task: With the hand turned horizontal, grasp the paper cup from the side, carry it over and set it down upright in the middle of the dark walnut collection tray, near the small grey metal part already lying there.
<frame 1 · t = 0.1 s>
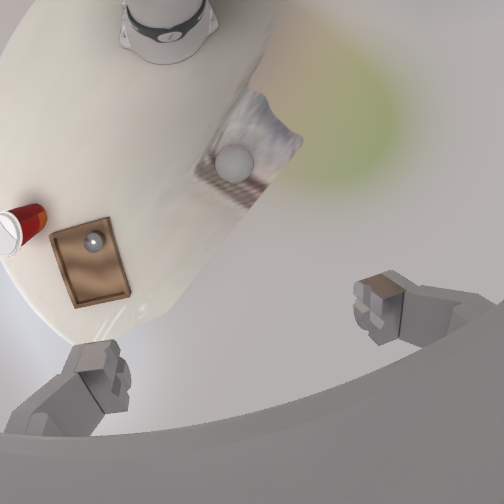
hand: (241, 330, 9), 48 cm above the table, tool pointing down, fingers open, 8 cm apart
lightbulb: (227, 162, 54), on the table
part: (96, 239, 52), point 1 cm above the table, touching tray
paper cup: (36, 217, 48), on the table
tray: (90, 263, 54), on the table
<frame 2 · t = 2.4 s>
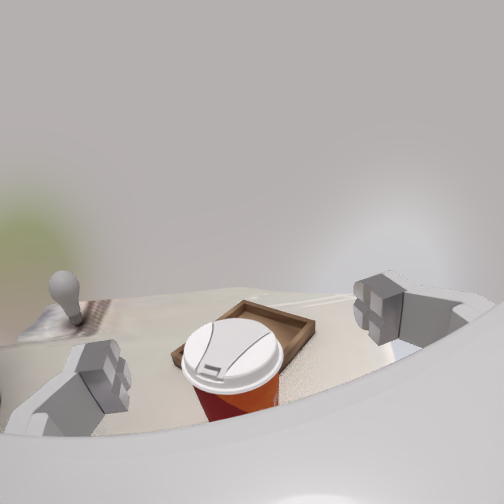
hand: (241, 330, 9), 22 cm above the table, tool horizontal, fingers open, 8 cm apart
lightbulb: (78, 325, 49), on the table
paper cup: (249, 442, 27), on the table
tray: (246, 350, 41), on the table
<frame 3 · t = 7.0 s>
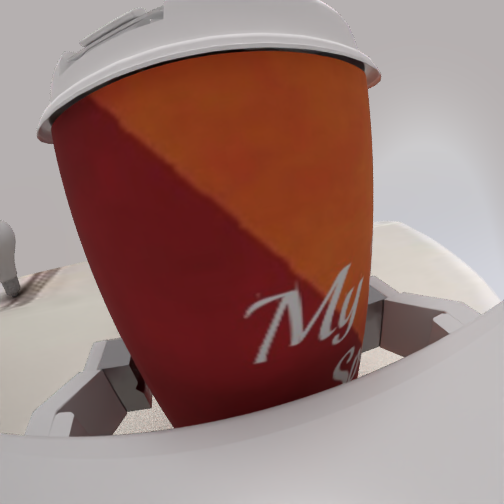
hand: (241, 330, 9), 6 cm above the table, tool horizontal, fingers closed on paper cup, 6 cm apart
lightbulb: (16, 296, 32), on the table
paper cup: (273, 451, 11), on the table, touching gripper
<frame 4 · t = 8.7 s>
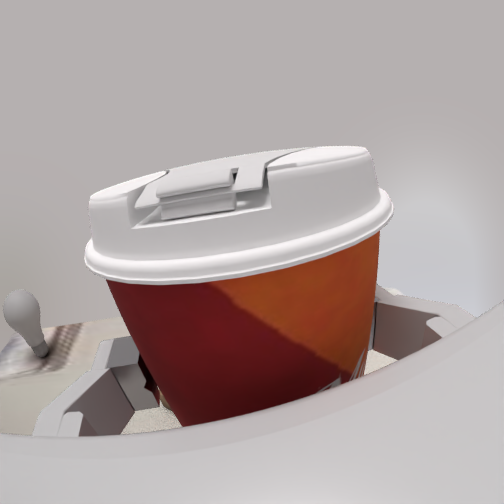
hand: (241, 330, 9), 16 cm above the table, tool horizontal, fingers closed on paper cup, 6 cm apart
lightbulb: (45, 356, 35), on the table
paper cup: (282, 469, 12), point 7 cm above the table, touching gripper
when the fingers open (9 cm above the table, at t = 11.3 s): paper cup stays where it is, resting on tray.
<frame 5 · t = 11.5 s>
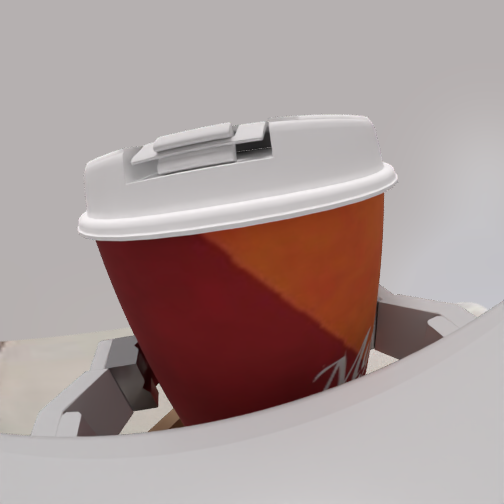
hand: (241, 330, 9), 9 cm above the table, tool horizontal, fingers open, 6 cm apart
paper cup: (282, 464, 12), resting on tray, touching gripper
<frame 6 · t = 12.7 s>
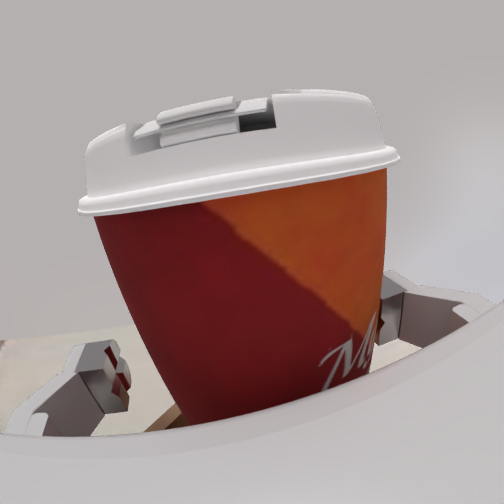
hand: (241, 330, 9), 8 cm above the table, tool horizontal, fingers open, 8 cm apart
paper cup: (285, 460, 12), resting on tray
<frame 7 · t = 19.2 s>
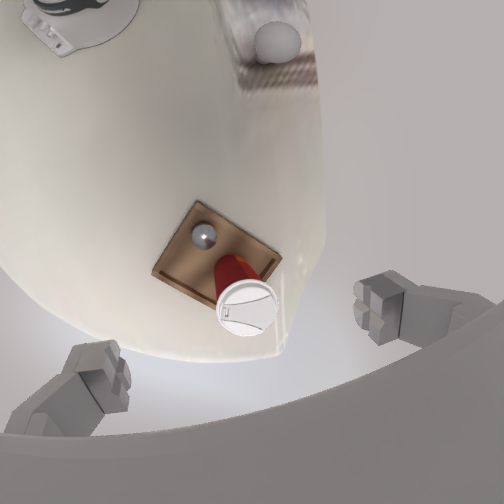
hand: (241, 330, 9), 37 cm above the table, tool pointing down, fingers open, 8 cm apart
lightbulb: (262, 59, 39), on the table
part: (203, 232, 45), point 1 cm above the table, touching tray
paper cup: (231, 269, 48), resting on tray
tray: (216, 261, 48), on the table
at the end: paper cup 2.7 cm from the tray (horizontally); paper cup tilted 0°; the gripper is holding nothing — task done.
